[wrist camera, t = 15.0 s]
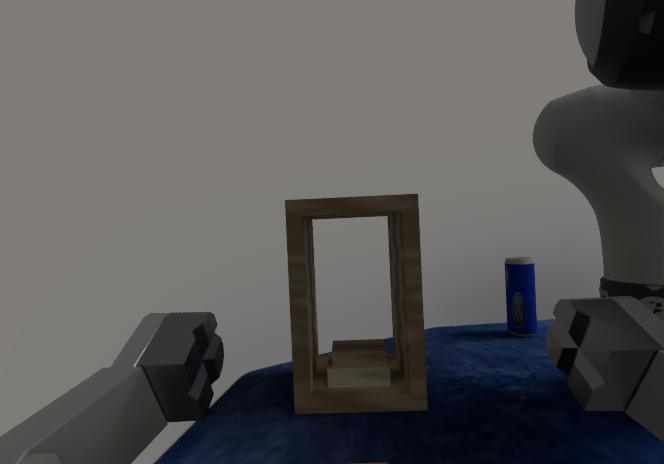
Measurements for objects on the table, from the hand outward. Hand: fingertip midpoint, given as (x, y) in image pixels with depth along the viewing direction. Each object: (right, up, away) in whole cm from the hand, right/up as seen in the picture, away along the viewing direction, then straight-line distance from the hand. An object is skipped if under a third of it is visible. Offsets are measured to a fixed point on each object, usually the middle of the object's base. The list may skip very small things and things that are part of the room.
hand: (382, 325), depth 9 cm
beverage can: (+36, -18, +63) cm, 75 cm away
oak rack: (+2, -19, +42) cm, 46 cm away
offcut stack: (+2, -17, +41) cm, 44 cm away
